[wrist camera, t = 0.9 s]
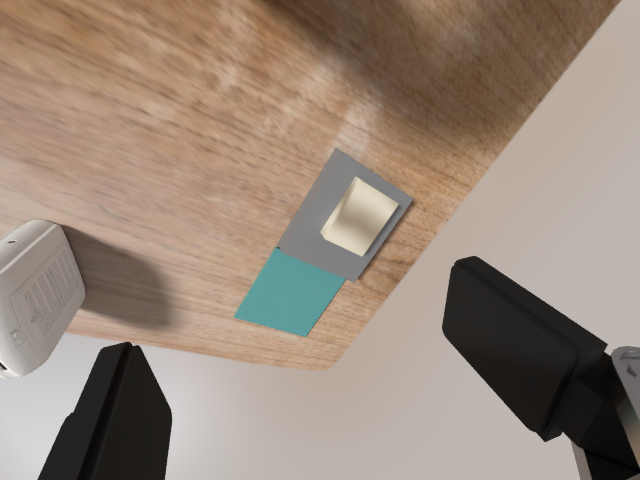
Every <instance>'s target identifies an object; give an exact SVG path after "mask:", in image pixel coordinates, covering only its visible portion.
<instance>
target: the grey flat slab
mask: <svg viewBox="0 0 640 480" xmlns="http://www.w3.org/2000/svg"><path fill="white" fill-rule="evenodd" d="M355 177H358V178H359V179H361V180H363V181H364V182H366V183H367V184H369V185H371V186H372V187H374V188H375V189H377V190H378V191H380V192H382V193H383V194H385V195H386V196H388V197H390V198H391V199H393V200H394V201H396V202H397V203H398V204H399V205H398V206H397V208H396V209H395V211H394V212H393V213H392V215H391V216H390V218H389V219H388V221H387V222H386V223H385V225H384V226H383V228H382V229H381V231H380V232H379V233H378V235H377V236H376V238H375V239H374V241H373V242H372V243H371V245H370V246H369V248H368V249H367V251H366V252H365V254H364V255H363V256H360V255H358V254H355V253H353V252H351V251H349V250H347V249H345V248H343V247H341V246H338V245H336V244H334V243H332V242H330V241H328V240H326V239H325V238H324V237H323V236H322V234H321V233H320V231H321V230H322V228H323V227H324V225H325V224H326V222H327V221H328V219H329V217H330V216H331V214H332V213H333V211H334V210H335V208H336V206H337V205H338V203H339V202H340V200H341V199H342V197H343V195H344V194H345V192H346V191H347V189H348V188H349V186H350V185H351V183H352V181H353V180H354V178H355ZM412 201H413V198H412V197H410V196H409V195H407V194H406V193H404V192H403V191H401V190H400V189H398V188H397V187H395V186H394V185H392V184H391V183H389V182H388V181H386V180H385V179H383V178H382V177H380V176H379V175H377V174H376V173H374V172H373V171H371V170H370V169H368V168H367V167H365V166H364V165H362V164H360V163H359V162H357V161H356V160H354V159H353V158H351V157H350V156H348V155H347V154H345V153H344V152H342V151H340V150H339V149H337V148H335V150H334V152H333V153H332V155H331V157H330V158H329V160H328V162H327V163H326V165H325V166H324V168H323V170H322V171H321V173H320V175H319V176H318V178H317V180H316V181H315V183H314V185H313V186H312V188H311V190H310V191H309V193H308V195H307V196H306V198H305V200H304V201H303V203H302V204H301V206H300V208H299V209H298V211H297V213H296V214H295V216H294V218H293V219H292V221H291V223H290V224H289V226H288V228H287V229H286V231H285V233H284V234H283V236H282V238H281V239H280V241H279V243H278V245H279V247H280V250H281V253H284V254H286V255H289V256H291V257H293V258H296V259H298V260H301V261H303V262H306V263H308V264H310V265H313V266H315V267H318V268H320V269H323V270H325V271H327V272H330V273H332V274H335V275H337V276H340V277H342V278H344V279H347V280H349V281H352V282H355V281H356V280H357V278H358V277H359V275H360V274H361V273H362V271H363V270H364V268H365V267H366V266H367V264H368V263H369V261H370V260H371V258H372V257H373V256H374V254H375V253H376V251H377V250H378V249H379V247H380V246H381V244H382V243H383V242H384V240H385V239H386V237H387V236H388V234H389V233H390V232H391V230H392V229H393V227H394V226H395V225H396V223H397V222H398V220H399V219H400V218H401V216H402V215H403V213H404V212H405V211H406V209H407V208H408V206H409V205H410V203H411V202H412Z"/></svg>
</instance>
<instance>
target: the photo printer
mask: <svg viewBox="0 0 640 480" xmlns="http://www.w3.org/2000/svg"><path fill="white" fill-rule="evenodd" d="M84 299H85V287H84V284H83V280H82V277H81V275H80V272H79V269H78V266H77V263H76V261H75V258H74V255H73V253H72V250H71V248H70V245H69V242H68V240H67V238H66V236H65V233H64V232H63V230H62V228H61V227H60V225H58V224H55V223H53V222H50V221H45V220H33V221H30V222H27V223H26V224H24V225H23V226H21V227H17V228H15V229H13V230H11V231H10V232H8V233H7V234H6V235H4V236H3V237H2V238H0V377H1V378H3V379H8V378H11V377H15V376H20V377H22V376H25V375H27V374H29V373H31V372H32V371H34V370H36V369H37V368H38V367H40V366H41V365H42V364H43V363H45V362H46V360H48V358H49V357H50V355H51V353H52V352H53V350H54V349H55V347H56V345H57V344H58V342H59V340H60V339H61V337H62V335H63V334H64V332H65V330H66V329H67V327H68V326H69V324H70V322H71V321H72V319H73V317H74V316H75V314H76V312H77V311H78V309H79V308H80V306H81V304H82V303H83V301H84Z"/></svg>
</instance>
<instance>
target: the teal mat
mask: <svg viewBox="0 0 640 480" xmlns="http://www.w3.org/2000/svg"><path fill="white" fill-rule="evenodd" d="M345 280H346V279H344V278H342V277H340V276H337V275H335V274H332V273H330V272H327V271H325V270H323V269H320V268H318V267H315V266H313V265H310V264H308V263H306V262H303V261H301V260H298V259H296V258H293V257H291V256H289V255H286V254H284V253H281V250H280V248H279V247H275V249H274V251H273V252H272V254H271V256H270V257H269V259H268V261H267V262H266V264H265V266H264V267H263V269H262V271H261V272H260V274H259V276H258V277H257V279H256V281H255V282H254V284H253V286H252V287H251V289H250V290H249V292H248V294H247V295H246V297H245V299H244V300H243V302H242V304H241V305H240V307H239V309H238V310H237V312H236V314H235V315H234V318H238V319H242V320H245V321H249V322H252V323H256V324H260V325H263V326H267V327H271V328H274V329H278V330H282V331H285V332H289V333H293V334H296V335H300V336H304V337H306V335H307V334H308V333H309V331H310V330H311V328H312V327H313V325H314V324H315V323H316V321H317V320H318V318H319V317H320V315H321V314H322V312H323V311H324V310H325V308H326V307H327V305H328V304H329V302H330V301H331V300H332V298H333V297H334V295H335V294H336V292H337V291H338V290H339V288H340V287H341V285H342V284H343V282H344V281H345Z"/></svg>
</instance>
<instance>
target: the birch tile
mask: <svg viewBox="0 0 640 480" xmlns="http://www.w3.org/2000/svg"><path fill="white" fill-rule="evenodd" d="M398 205H399V204H398V203H397V202H396V201H394V200H393V199H391V198H390V197H388V196H386V195H385V194H383V193H382V192H380V191H378V190H377V189H375V188H374V187H372V186H371V185H369V184H367V183H366V182H364V181H363V180H361V179H359V178H358V177H355V178H354V180H353V181H352V183H351V185H350V186H349V188H348V189H347V191H346V192H345V194H344V195H343V197H342V199H341V200H340V202H339V203H338V205H337V206H336V208H335V210H334V211H333V213H332V214H331V216H330V217H329V219H328V221H327V222H326V224H325V225H324V227H323V228H322V230H321V231H320V233H321V234H322V236H323V237H324V238H325V239H326V240H328V241H330V242H332V243H334V244H336V245H338V246H341V247H343V248H345V249H347V250H349V251H351V252H353V253H355V254H358V255H360V256H363V255H364V254H365V252H366V251H367V249H368V248H369V246H370V245H371V243H372V242H373V241H374V239H375V238H376V236H377V235H378V233H379V232H380V231H381V229H382V228H383V226H384V225H385V223H386V222H387V221H388V219H389V218H390V216H391V215H392V213H393V212H394V211H395V209H396V208H397V206H398Z"/></svg>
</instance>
